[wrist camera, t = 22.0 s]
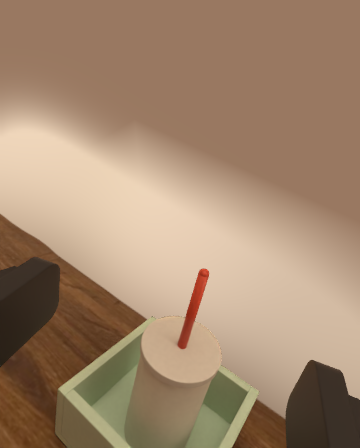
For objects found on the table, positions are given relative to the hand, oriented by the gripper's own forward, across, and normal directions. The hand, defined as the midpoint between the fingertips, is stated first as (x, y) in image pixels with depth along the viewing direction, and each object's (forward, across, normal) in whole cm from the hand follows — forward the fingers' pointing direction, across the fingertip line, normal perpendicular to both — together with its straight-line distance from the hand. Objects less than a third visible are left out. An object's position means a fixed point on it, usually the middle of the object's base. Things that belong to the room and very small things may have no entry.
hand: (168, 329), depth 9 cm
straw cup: (+10, 0, +21) cm, 23 cm away
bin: (+10, 0, +22) cm, 24 cm away
